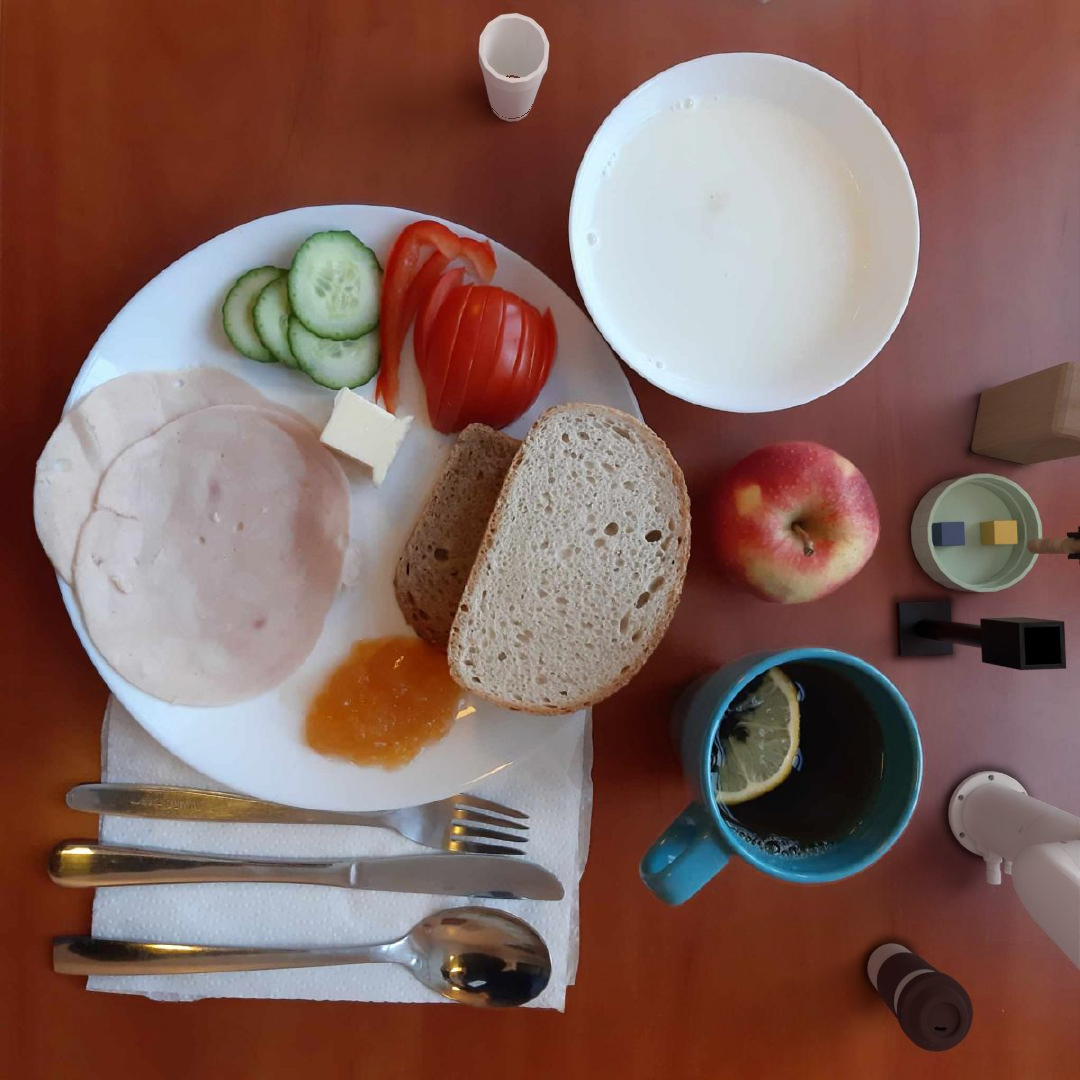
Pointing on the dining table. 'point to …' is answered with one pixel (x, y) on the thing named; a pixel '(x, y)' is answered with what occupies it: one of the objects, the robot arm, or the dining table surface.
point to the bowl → (976, 533)
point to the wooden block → (1031, 417)
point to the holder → (981, 636)
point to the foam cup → (513, 63)
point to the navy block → (948, 534)
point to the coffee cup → (921, 998)
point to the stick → (1054, 546)
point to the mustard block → (999, 532)
